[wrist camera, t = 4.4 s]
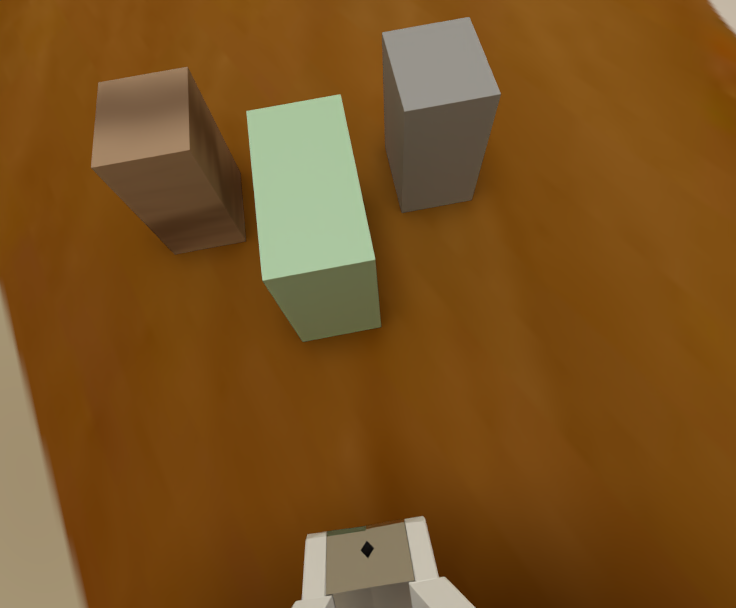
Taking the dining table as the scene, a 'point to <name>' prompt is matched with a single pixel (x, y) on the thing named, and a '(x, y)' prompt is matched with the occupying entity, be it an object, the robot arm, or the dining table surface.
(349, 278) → the sage brick
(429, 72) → the grey block
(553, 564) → the dining table surface
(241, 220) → the walnut block
